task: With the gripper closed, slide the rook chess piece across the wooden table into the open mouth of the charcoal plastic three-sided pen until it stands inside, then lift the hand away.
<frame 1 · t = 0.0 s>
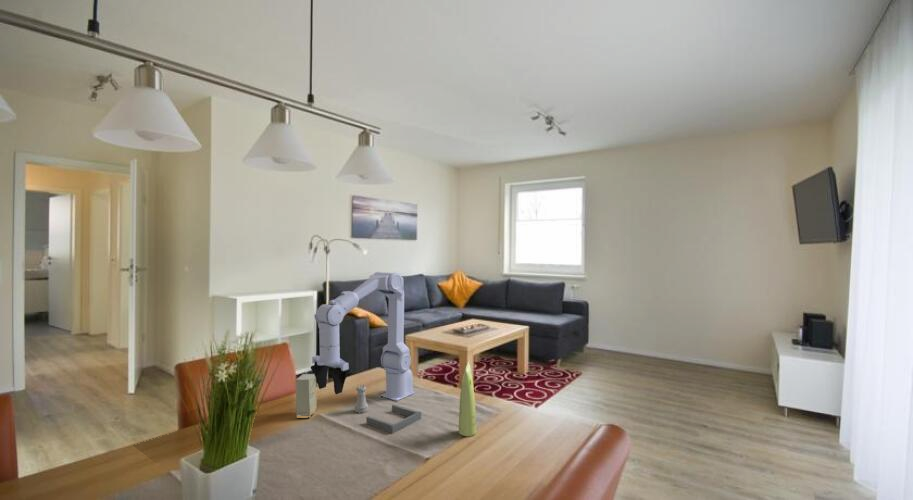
hand: (330, 390, 125), 10 cm above the table, tool pointing down, fingers open, 7 cm apart
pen: (393, 421, 127), on the table
skincare box: (306, 415, 133), on the table
light green tall cone: (467, 433, 119), on the table
rook chess piece: (361, 411, 135), on the table
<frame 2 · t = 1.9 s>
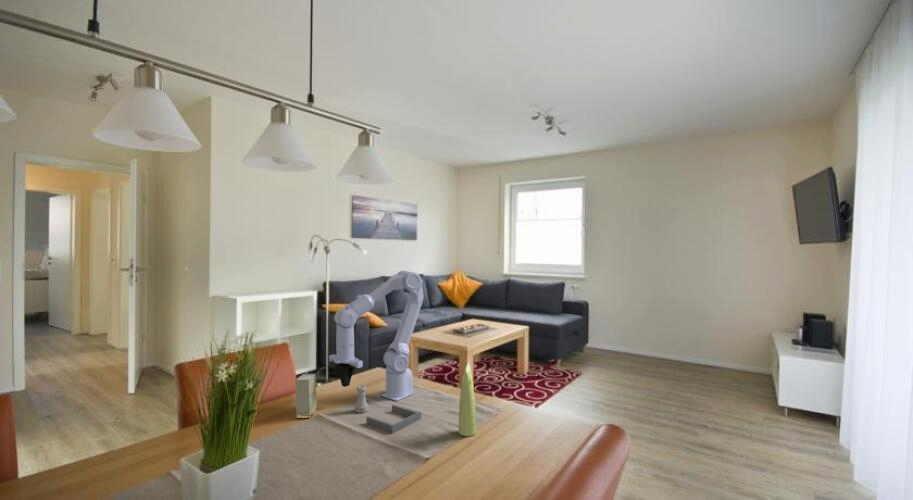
hand: (345, 385, 139), 7 cm above the table, tool pointing down, fingers closed
nothing on the table moved.
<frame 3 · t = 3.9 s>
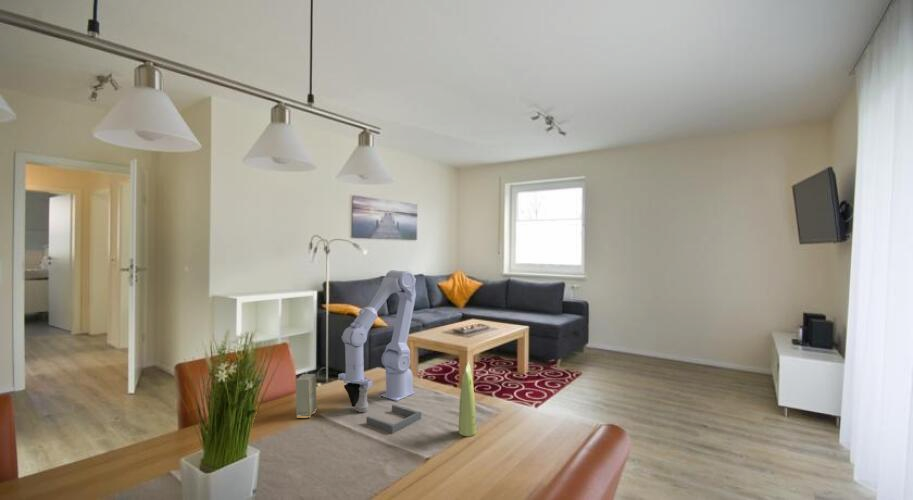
hand: (355, 405, 137), 1 cm above the table, tool pointing down, fingers closed
rook chess piece: (361, 410, 135), on the table, touching gripper
everything else where it was.
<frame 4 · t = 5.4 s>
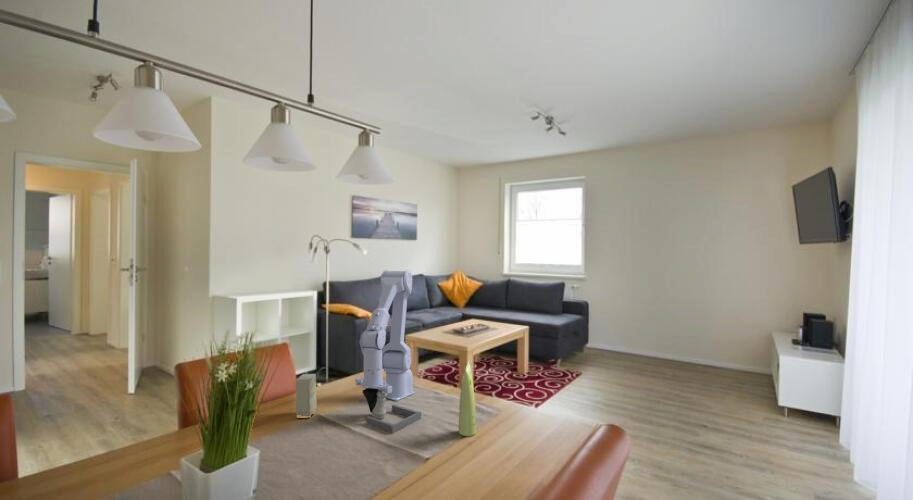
hand: (373, 411, 132), 1 cm above the table, tool pointing down, fingers closed
rook chess piece: (378, 416, 130), on the table, touching gripper
everything else where it was.
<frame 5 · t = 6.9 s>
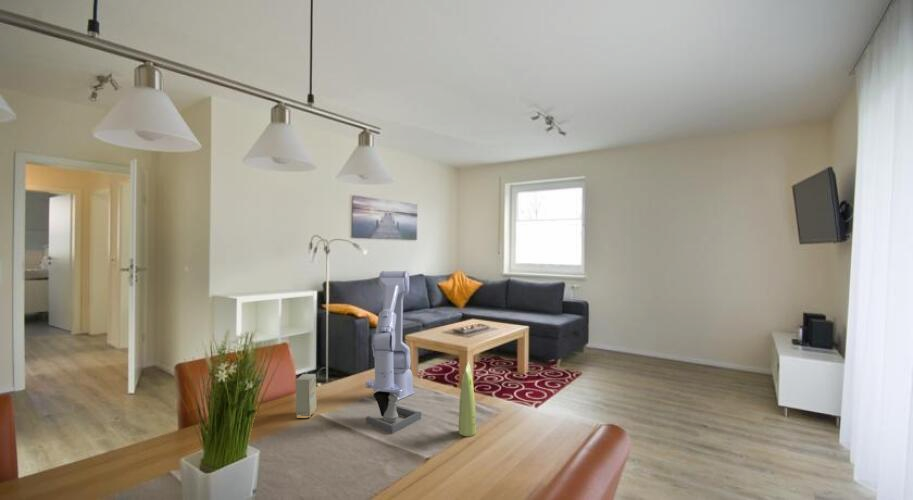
hand: (384, 415, 129), 1 cm above the table, tool pointing down, fingers closed
rook chess piece: (390, 420, 127), on the table, touching gripper
everything else where it was.
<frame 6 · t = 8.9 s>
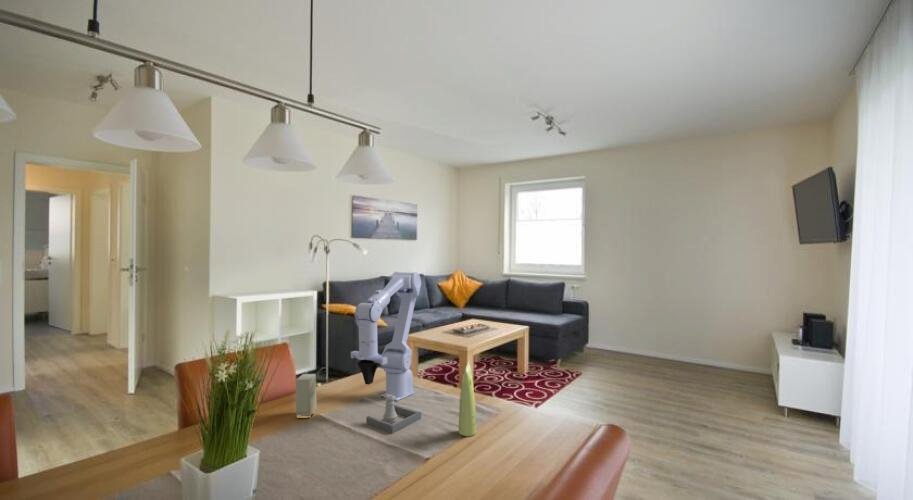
hand: (368, 383, 133), 9 cm above the table, tool pointing down, fingers closed
rook chess piece: (390, 421, 127), on the table
everything else where it was.
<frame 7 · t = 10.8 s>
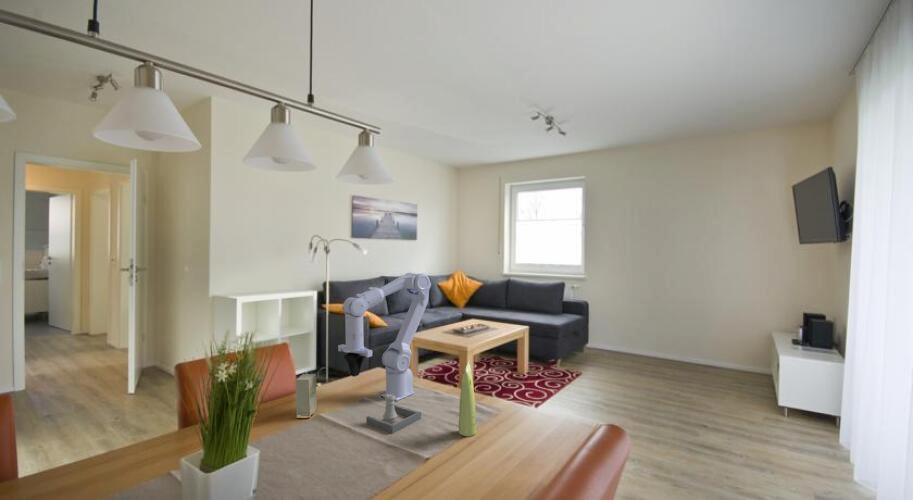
hand: (355, 375, 138), 10 cm above the table, tool pointing down, fingers closed
nothing on the table moved.
at the end: rook chess piece inside the target area on the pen (1.3 cm from its centre), point 0.0 cm above the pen's base; rook chess piece tilted 0° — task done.
